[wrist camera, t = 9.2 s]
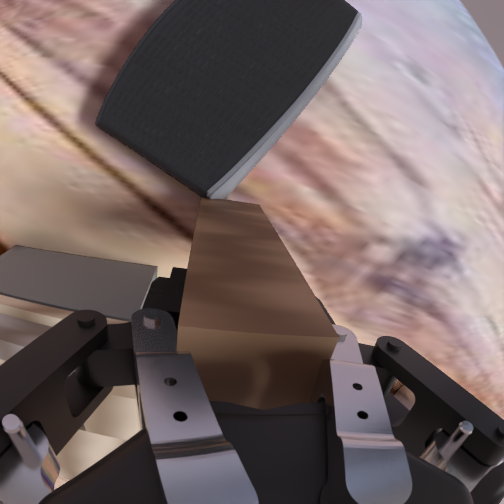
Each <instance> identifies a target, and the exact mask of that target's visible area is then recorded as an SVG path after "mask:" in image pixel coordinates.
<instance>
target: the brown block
mask: <svg viewBox="0 0 504 504" xmlns="http://www.w3.org/2000/svg"><path fill="white" fill-rule="evenodd" d="M338 339H339V336H338V334H337V332H336V331H335V329H334V327H333V326H332V324H331V322H330V320H329V319H328V317H327V315H326V314H325V312H324V310H323V309H322V307H321V305H320V303H319V302H318V300H317V298H316V297H315V295H314V293H313V292H312V290H311V288H310V287H309V285H308V283H307V282H306V280H305V278H304V277H303V275H302V273H301V272H300V270H299V268H298V267H297V265H296V263H295V262H294V260H293V258H292V257H291V255H290V254H289V252H288V250H287V249H286V247H285V245H284V244H283V242H282V241H281V239H280V237H279V236H278V234H277V232H276V231H275V229H274V228H273V226H272V224H271V223H270V221H269V220H268V218H267V216H266V215H265V213H264V212H263V210H262V208H261V207H260V205H258V204H251V203H244V202H238V201H231V200H223V199H208V198H206V197H201V201H200V206H199V211H198V216H197V220H196V226H195V231H194V236H193V241H192V246H191V252H190V257H189V262H188V268H187V274H186V279H185V285H184V291H183V297H182V303H181V310H180V316H179V323H178V334H177V351H190V353H191V355H192V358H193V360H194V363H195V366H196V368H197V371H198V374H199V377H200V379H201V382H202V384H203V387H204V390H205V392H206V395H207V397H208V400H209V401H222V402H230V403H234V404H238V405H243V406H247V407H252V408H257V409H262V410H266V409H272V408H277V407H282V406H286V405H291V404H295V403H309V401H310V398H311V396H312V394H313V391H314V389H315V386H316V383H317V377H318V370H319V368H320V365H321V363H322V360H326V359H331V357H332V355H333V352H334V350H335V347H336V344H337V342H338Z"/></svg>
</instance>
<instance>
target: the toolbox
mask: <svg viewBox="0 0 504 504" xmlns="http://www.w3.org/2000/svg"><path fill="white" fill-rule="evenodd" d="M155 279H157V267H156V266H149V265H142V264H134V263H127V262H120V261H113V260H106V259H99V258H93V257H86V256H79V255H73V254H66V253H60V252H54V251H47V250H41V249H35V248H29V247H23V246H17V245H16V246H14V247H13V248H11V249H9V250H8V251H6V252H5V253H3V254H2V255H1V256H0V295H4V296H8V297H12V298H16V299H20V300H24V301H28V302H32V303H36V304H41V305H45V306H50V307H54V308H59V309H63V310H68V311H73V312H75V311H79V310H95V311H98V312H100V313H102V314H103V315H104V316H105V317H106V318H111V319H116V320H122V321H129V322H130V321H131V316H132V315H133V313H134V312H136V311H138V310H140V309H142V307H143V304H144V302H145V299H146V296H147V294H148V291H149V289H150V286H151V283H152V281H154V280H155Z"/></svg>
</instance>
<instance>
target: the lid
mask: <svg viewBox="0 0 504 504" xmlns="http://www.w3.org/2000/svg"><path fill="white" fill-rule="evenodd" d="M71 313H73V311H68V310H63V309H59V308H54V307H50V306H45V305H41V304H36V303H32V302H28V301H24V300H20V299H16V298H12V297H8V296H4V295H0V365H2V364H3V363H4V362H5V361H7V360H8V359H9V358H11V357H12V356H13V355H15V354H16V353H17V352H19V351H20V350H21V349H23V348H24V347H25V346H27V345H28V344H29V343H31V342H32V341H33V340H35V339H36V338H38V337H39V336H40V335H42V334H43V333H44V332H46V331H47V330H49V329H50V328H51V327H53V326H54V325H56V324H57V323H58V322H60V321H61V320H63V319H64V318H65V317H67V316H68V315H70V314H71ZM127 322H129V321H122V320H116V319H111V318H107V324H121V323H127ZM140 430H141V424H140V418H139V412H138V406H137V399H136V392H135V385H126V386H113V389H112V391H111V392H110V394H109V395H108V396H107V397H106V398H105V399H104V401H103V402H102V403H101V404H100V405H99V406H98V408H97V409H96V410H95V411H94V412H93V413H92V415H91V416H90V417H89V418H88V419H87V420H86V422H85V423H84V424H83V425H82V426H81V428H80V429H79V430H78V431H77V432H76V433H75V435H74V436H73V437H72V438H71V439H70V441H69V442H68V443H67V444H66V445H65V447H64V448H63V449H62V450H61V451H60V452H59V454H58V455H57V458H58V461H59V464H60V473H59V477H62V478H65V479H69V480H71V479H72V478H74V477H75V476H77V475H78V474H80V473H81V472H83V471H84V470H86V469H87V468H89V467H90V466H92V465H93V464H95V463H96V462H98V461H99V460H100V459H102V458H103V457H105V456H106V455H107V454H109V453H110V452H112V451H113V450H115V449H116V448H117V447H119V446H120V445H121V444H123V443H124V442H126V441H127V440H128V439H130V438H131V437H132V436H134V435H135V434H136V433H138V432H139V431H140Z"/></svg>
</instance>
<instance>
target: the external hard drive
mask: <svg viewBox="0 0 504 504" xmlns="http://www.w3.org/2000/svg"><path fill="white" fill-rule="evenodd" d="M361 24H362V15H361V14H360V13H359V12H358V11H357V10H356V9H355V8H354V7H352V6H351V5H350V4H349V3H347V2H346V1H345V0H175V1H174V2H173V3H172V4H171V5H170V6H169V7H168V8H167V9H166V10H165V11H164V12H163V13H162V14H161V16H160V17H159V18H158V19H157V20H156V21H155V22H154V24H153V25H152V26H151V27H150V29H149V30H148V31H147V32H146V34H145V35H144V36H143V38H142V39H141V40H140V42H139V43H138V44H137V46H136V47H135V49H134V50H133V52H132V53H131V55H130V56H129V58H128V59H127V61H126V62H125V64H124V65H123V67H122V69H121V70H120V72H119V74H118V75H117V77H116V79H115V81H114V83H113V84H112V86H111V88H110V90H109V92H108V94H107V96H106V98H105V100H104V103H103V105H102V107H101V109H100V112H99V114H98V117H97V120H96V122H95V125H96V126H97V127H99V128H100V129H102V130H103V131H105V132H106V133H108V134H109V135H110V136H112V137H114V138H115V139H117V140H118V141H120V142H122V143H123V144H124V145H126V146H128V147H129V148H130V149H132V150H134V151H135V152H137V153H138V154H140V155H141V156H142V157H144V158H146V159H147V160H148V161H150V162H151V163H153V164H155V165H156V166H157V167H159V168H160V169H162V170H163V171H165V172H166V173H167V174H169V175H170V176H172V177H174V178H175V179H176V180H178V181H179V182H181V183H182V184H184V185H185V186H187V187H188V188H189V189H191V190H192V191H194V192H196V193H197V194H198V195H200V196H201V197H206V198H208V199H223V200H224V199H225V198H226V197H227V196H228V195H229V194H230V193H231V192H232V191H233V190H234V189H235V187H236V186H237V185H238V184H239V183H240V182H241V181H242V180H243V179H244V178H245V177H246V176H247V175H248V173H249V172H250V171H251V170H252V169H253V168H254V167H255V166H256V165H257V163H258V162H259V161H260V160H261V159H262V158H263V157H264V156H265V154H266V153H267V152H268V151H269V150H270V149H271V148H272V147H273V145H274V144H275V143H276V142H277V141H278V140H279V138H280V137H281V136H282V135H283V134H284V133H285V131H286V130H287V129H288V128H289V127H290V125H291V124H292V123H293V122H294V121H295V119H296V118H297V117H298V116H299V115H300V113H301V112H302V111H303V110H304V108H305V107H306V106H307V105H308V103H309V102H310V101H311V100H312V99H313V97H314V96H315V95H316V93H317V92H318V91H319V89H320V88H321V87H322V85H323V84H324V83H325V81H326V80H327V79H328V77H329V76H330V75H331V73H332V72H333V70H334V69H335V68H336V66H337V65H338V63H339V62H340V60H341V59H342V57H343V56H344V55H345V53H346V52H347V50H348V49H349V47H350V45H351V44H352V42H353V41H354V39H355V38H356V36H357V34H358V32H359V30H360V28H361Z"/></svg>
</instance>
